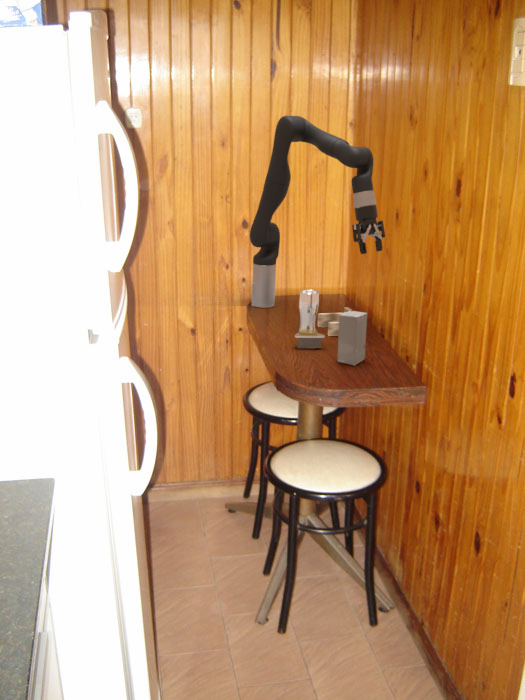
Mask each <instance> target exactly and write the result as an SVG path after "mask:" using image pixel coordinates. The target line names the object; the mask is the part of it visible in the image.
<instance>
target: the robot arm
mask: <svg viewBox="0 0 525 700" xmlns="http://www.w3.org/2000/svg"><path fill="white" fill-rule="evenodd" d="M273 138H274V139H273V144H272V152H271V157H270V161H269V165H268V169H267V171H266V172H267V173H266V176H265V180H264V183H263V188H262V194H261V197H260V200H259V203H258V208H257V211H256V214H255V216H254V219H253V221H252V224H251V227H250V230H249V241H250V242H251V245H252V246H253V247H255V248H259V251H258V252H256V253H255V254H254V256H253V259H252V282H251V284H252V285H251V307H256V308H259V309H260V308H262V309H263V308H266V309H267V308H272V307H274V306H275V301H276V300H275V299H276V298H275V297H276V277H277V276H276V275H277V273H276V271H277V270H276V269H277V259H278V257H279V252H280V242H281V232H280V228H279V226H278V225H277V224H276V223H275V222H272V218H273V216H274V214H275V212H276V211H277V210H278V209H279V207H280V206H281V204H282V203H283V201H284V200H285V198H286V196H287V193H288V191H289V187H290V183H291V179H292V178H291V171H290V170H291V169H290V165H289V159H288V157H289V151H290V148H291V144H292V143H298V142H301V143H307V144H310V145H313V146H314V147H316V149H318V151H320V152H321V153H323V154H325V155H326V156H328V157H331V158H333V159H335V160H337V161H339V163H341V164H342V165H343V166H346V167H347V168H350V169H356V175H354V176H353V177H352V178H351V191H352V196H353V198H352V199H353V206H354V214H355V221H357V222H358V223H354V224H352V226H351V227H352V238H353V242H354V243H357V244H358V248H359V252H360V254H361V255H365V254H367V253H368V251H367V245H366V239H367V238H368V236H371V237H373V239H374V243H375V244H374V245H375V250H376V252H382V251H383V239H384V238H386V232H385V226H384V221H383V220H378V221H377V218H378V209H377V208H378V207H377V200H376V195H375V193H374V186H373V178H372V177H373V173H374V172H373V171H374V154H373V153H372V151H371V149H370V148H369V147H366V146H354V145H350V143H349V142H348V141H347V140H345V139H343V138H341V137H338V135H334V134H331V133H329V132H327V131H325V130H323V129H320V128H319V127H317V126H316V125H314V124H313V123H312V122H310V121H309V120H308V119H305V118H304V117H302V116H299V115H283V116H282V117H280V118H279V119H278V121H277V124H276V127H275V132H274V136H273Z"/></svg>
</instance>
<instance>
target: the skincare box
mask: <svg viewBox="0 0 525 700" xmlns="http://www.w3.org/2000/svg"><path fill="white" fill-rule="evenodd" d="M342 313H343V314H340V315H339V335H338V337H337V339H338V340H337V342H338V343H337V363H341V364H347V365H351V366H354V367H355V366H356V365H358V364H360V363H361V362H363V361H365V359H366V346H367V345H366V344H367V343H366V341H367V326H368V325H367V324H368V312H363V311H357V310H352V311H348V312H344V311H343V312H342Z"/></svg>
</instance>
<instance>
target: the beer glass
mask: <svg viewBox="0 0 525 700" xmlns="http://www.w3.org/2000/svg"><path fill="white" fill-rule="evenodd" d="M319 294H320V292H319V291H318V290H315V289H301V290H300V292H299V300H298V311H299V319H300V320H299V321H300V324H299V328H298V333H299V332H300V329H316V319H317V317H318V311H319V304H320V303H319V302H320V298H319V297H320V295H319ZM301 331H302V333H303V331H304V330H301ZM307 331H308V333H311V332H310V330H307ZM312 331H313V333H315V332H314V331H315V330H312ZM304 332H305V331H304ZM305 333H306V332H305Z"/></svg>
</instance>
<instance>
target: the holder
mask: <svg viewBox="0 0 525 700" xmlns="http://www.w3.org/2000/svg"><path fill="white" fill-rule="evenodd" d="M348 311H353V309H352V308H350V307H349V306H347V307H346V306H345V307H343V312H322V313H320V312H319V313H318V312H317V326H318V327H317V328H319V327H321V328H327V335H328V336H338V335H339V315H340V314H343V313H344V312H348ZM328 336H327V337H328Z"/></svg>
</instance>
